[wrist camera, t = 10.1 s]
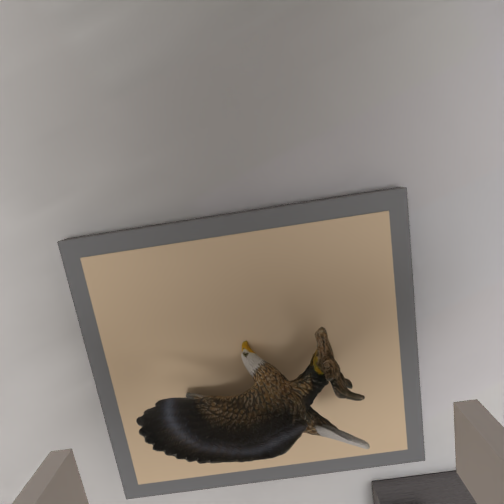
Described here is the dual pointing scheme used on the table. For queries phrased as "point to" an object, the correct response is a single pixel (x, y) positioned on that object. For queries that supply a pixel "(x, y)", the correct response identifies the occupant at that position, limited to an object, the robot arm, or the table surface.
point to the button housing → (423, 490)
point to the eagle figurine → (250, 413)
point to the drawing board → (254, 329)
